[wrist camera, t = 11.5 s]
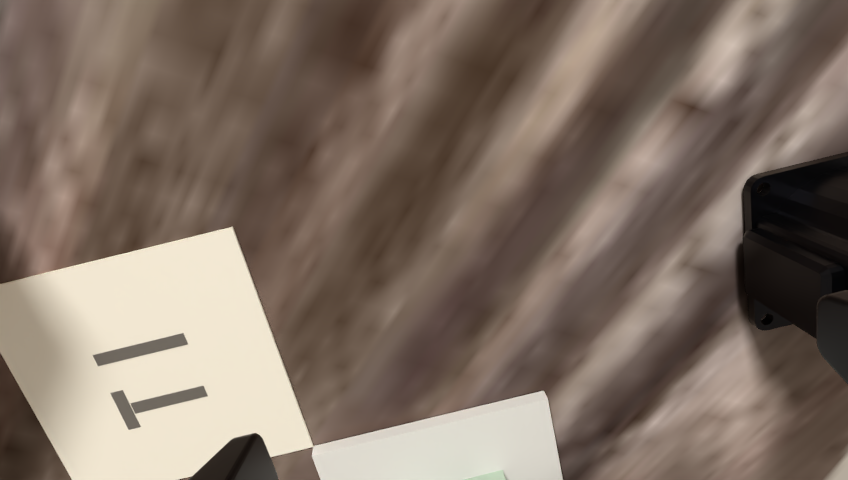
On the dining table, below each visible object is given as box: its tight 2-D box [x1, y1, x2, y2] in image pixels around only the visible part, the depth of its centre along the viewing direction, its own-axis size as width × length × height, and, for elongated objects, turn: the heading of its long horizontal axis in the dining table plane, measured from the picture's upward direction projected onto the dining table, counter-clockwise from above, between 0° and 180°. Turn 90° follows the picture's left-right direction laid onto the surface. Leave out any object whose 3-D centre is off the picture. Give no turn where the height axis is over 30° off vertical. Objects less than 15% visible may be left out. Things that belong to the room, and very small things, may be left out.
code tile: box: [0, 227, 314, 480], centre depth 21 cm, size 10×10×1 cm
